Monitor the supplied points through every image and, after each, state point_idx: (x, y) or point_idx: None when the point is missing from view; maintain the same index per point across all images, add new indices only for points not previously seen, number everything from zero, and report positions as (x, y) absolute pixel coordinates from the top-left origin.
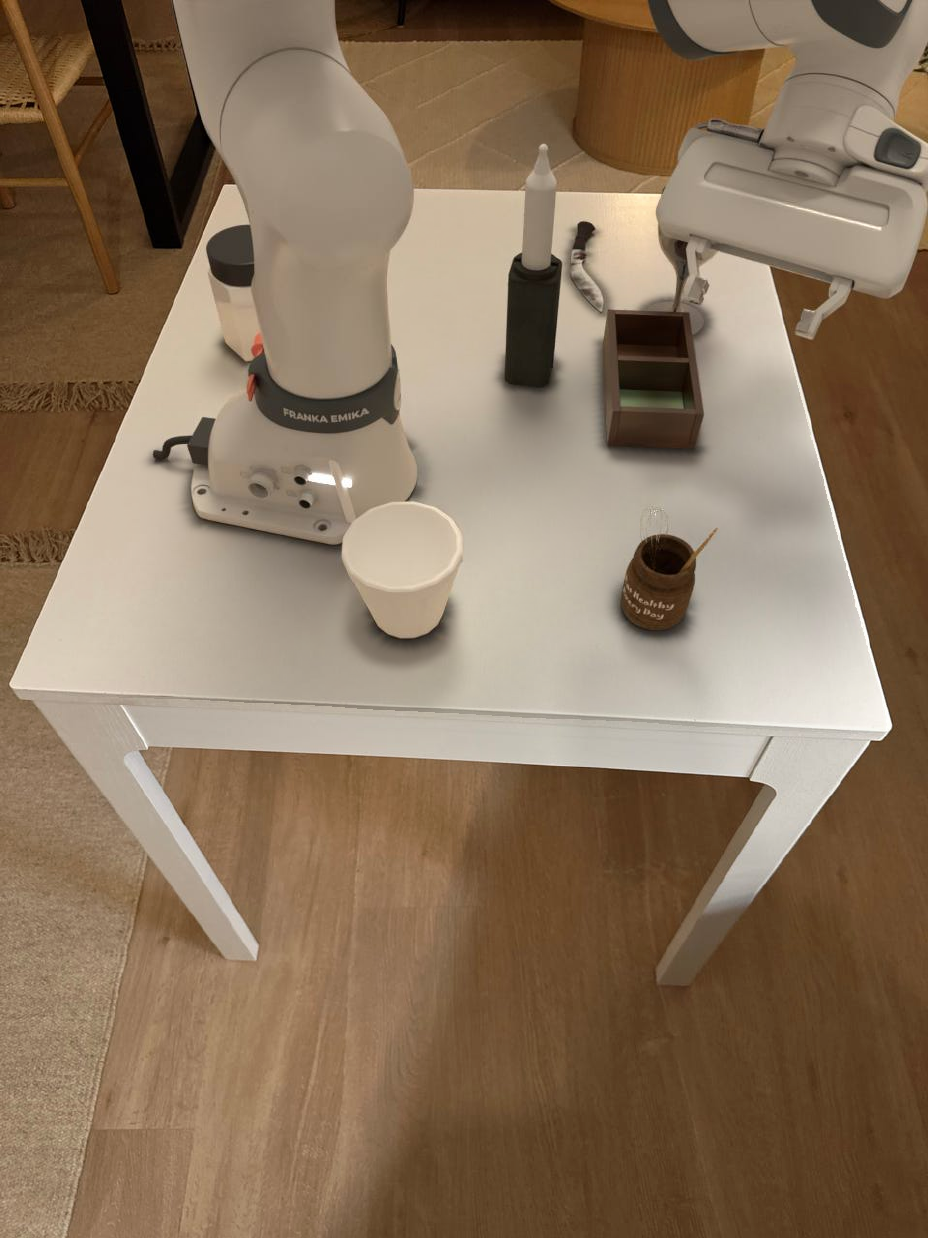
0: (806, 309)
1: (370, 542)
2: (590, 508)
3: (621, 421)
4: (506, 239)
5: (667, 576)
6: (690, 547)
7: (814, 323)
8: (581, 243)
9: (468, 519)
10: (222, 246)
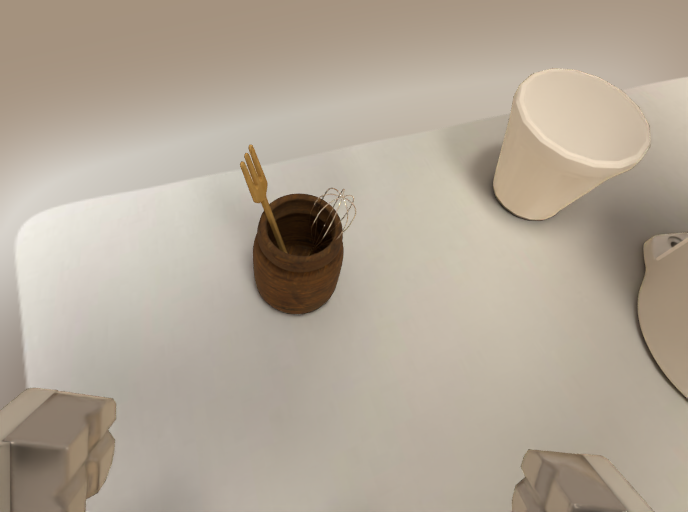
0: (54, 445)
1: (614, 153)
2: (432, 414)
3: None
4: None
5: (290, 195)
6: (272, 249)
7: (21, 404)
8: None
9: (558, 329)
10: None
